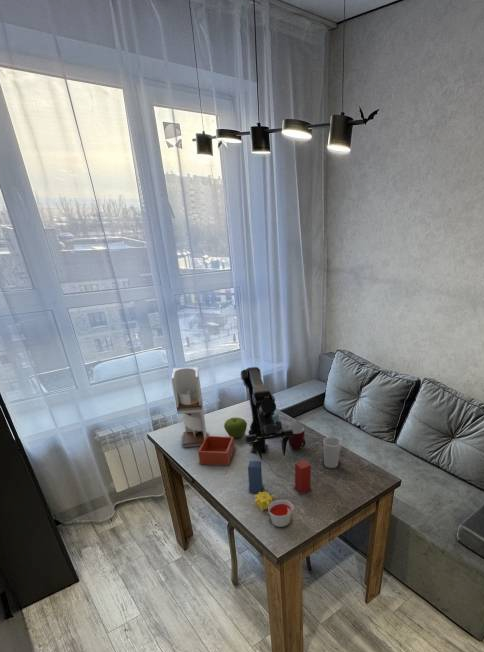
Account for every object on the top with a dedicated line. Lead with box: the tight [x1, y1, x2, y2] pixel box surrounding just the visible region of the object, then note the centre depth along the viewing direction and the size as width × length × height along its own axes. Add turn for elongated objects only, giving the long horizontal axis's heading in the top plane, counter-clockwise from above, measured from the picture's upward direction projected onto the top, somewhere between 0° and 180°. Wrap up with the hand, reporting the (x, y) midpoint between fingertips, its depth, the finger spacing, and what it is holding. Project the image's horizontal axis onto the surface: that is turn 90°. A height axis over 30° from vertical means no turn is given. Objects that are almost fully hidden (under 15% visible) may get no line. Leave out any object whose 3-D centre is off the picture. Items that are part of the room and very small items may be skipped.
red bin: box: [197, 435, 236, 466], centre depth 180 cm, size 14×13×6 cm
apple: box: [223, 416, 248, 439], centre depth 195 cm, size 11×10×10 cm
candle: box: [267, 499, 294, 528], centre depth 146 cm, size 9×9×6 cm
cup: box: [322, 436, 342, 469], centre depth 177 cm, size 8×8×12 cm
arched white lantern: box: [171, 366, 208, 448], centre depth 184 cm, size 11×11×35 cm
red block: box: [294, 459, 312, 495], centre depth 160 cm, size 4×4×12 cm
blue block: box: [247, 460, 263, 494], centre depth 159 cm, size 4×4×12 cm
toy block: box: [254, 490, 275, 511], centre depth 152 cm, size 8×8×6 cm
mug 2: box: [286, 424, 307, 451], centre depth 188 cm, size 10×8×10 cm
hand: (273, 457), depth 158 cm, fingers open, 9 cm apart
